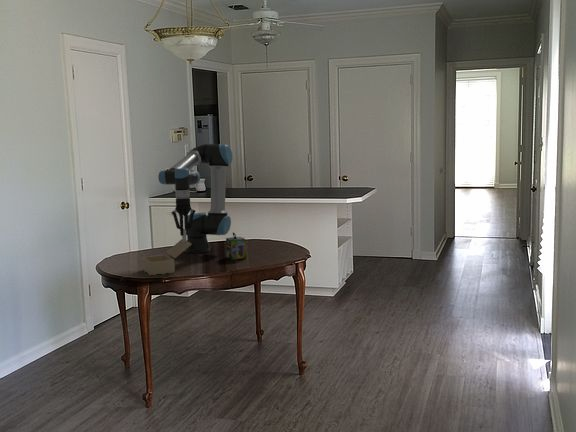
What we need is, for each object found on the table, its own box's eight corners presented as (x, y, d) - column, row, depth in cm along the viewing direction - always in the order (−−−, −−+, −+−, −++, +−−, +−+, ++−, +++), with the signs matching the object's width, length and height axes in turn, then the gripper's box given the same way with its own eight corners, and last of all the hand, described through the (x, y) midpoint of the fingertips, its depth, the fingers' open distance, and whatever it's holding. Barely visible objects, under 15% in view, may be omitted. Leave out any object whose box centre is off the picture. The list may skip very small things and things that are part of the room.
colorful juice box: (246, 258, 357) (245, 233, 355) (231, 260, 353) (230, 234, 351) (241, 255, 365) (240, 230, 363) (226, 257, 362) (225, 232, 360)
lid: (182, 238, 341) (183, 240, 341) (166, 252, 338) (167, 253, 338) (190, 243, 328) (191, 244, 329) (174, 257, 325) (175, 258, 325)
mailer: (142, 270, 333) (142, 257, 332) (166, 267, 339) (166, 254, 338) (150, 275, 320) (149, 262, 319) (174, 272, 326) (174, 259, 325)
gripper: (173, 199, 324) (174, 243, 328) (196, 197, 330) (198, 241, 334) (168, 197, 331) (170, 241, 335) (192, 196, 337) (193, 239, 340)
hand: (184, 241), depth 334 cm, fingers closed
